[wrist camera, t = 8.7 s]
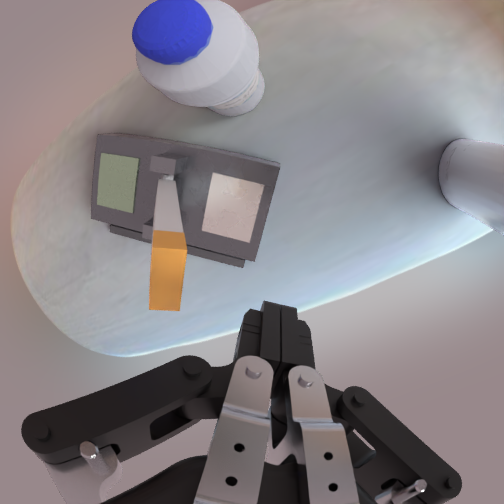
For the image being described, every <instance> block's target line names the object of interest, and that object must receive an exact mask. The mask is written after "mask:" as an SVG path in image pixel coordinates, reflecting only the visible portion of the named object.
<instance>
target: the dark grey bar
mask: <svg viewBox="0 0 504 504" xmlns="http://www.w3.org/2000/svg"><path fill="white" fill-rule="evenodd" d="M110 232H111V233H115V234H118V235H122V236H125V237H129V238H133V239H136V240H140V241H143V242H147V243H151V244H152V240H149V239H145V238H142V233H143V232H139V231H135V230H132V229H128V228H124V227H121V226H117V225H113V224H111V225H110ZM186 246H187V254H191V255H195V256H199V257H202V258H206V259H210V260H214V261H218V262H221V263H225V264H229V265H233V266H237V267H241V268H243V267H244V263H245V259H242V258H238V257H234V256H230V255H226V254H223V253H219V252H215V251H211V250H207V249H203V248H200V247H196V246H192V245H188V244H186Z"/></svg>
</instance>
